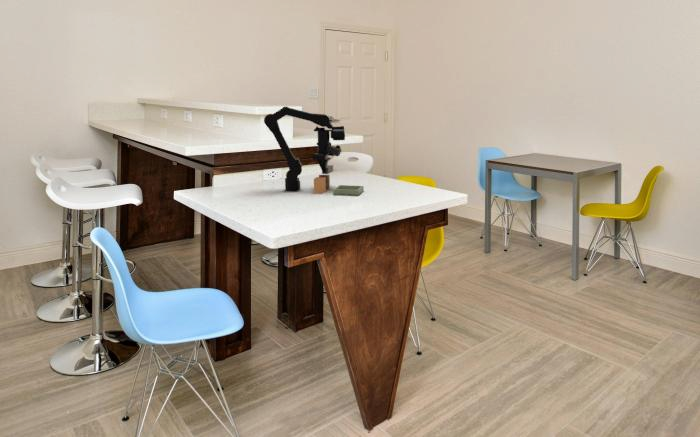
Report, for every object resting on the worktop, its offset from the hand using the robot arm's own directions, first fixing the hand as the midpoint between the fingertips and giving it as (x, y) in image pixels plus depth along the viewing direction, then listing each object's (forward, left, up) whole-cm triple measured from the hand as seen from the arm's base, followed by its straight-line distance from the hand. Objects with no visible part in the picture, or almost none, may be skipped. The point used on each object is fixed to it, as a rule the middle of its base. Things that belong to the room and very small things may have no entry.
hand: (324, 172), depth 261 cm
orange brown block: (0, -8, -9) cm, 12 cm away
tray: (+14, -7, -8) cm, 18 cm away
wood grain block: (0, 0, -8) cm, 9 cm away
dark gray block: (0, +6, -1) cm, 6 cm away
